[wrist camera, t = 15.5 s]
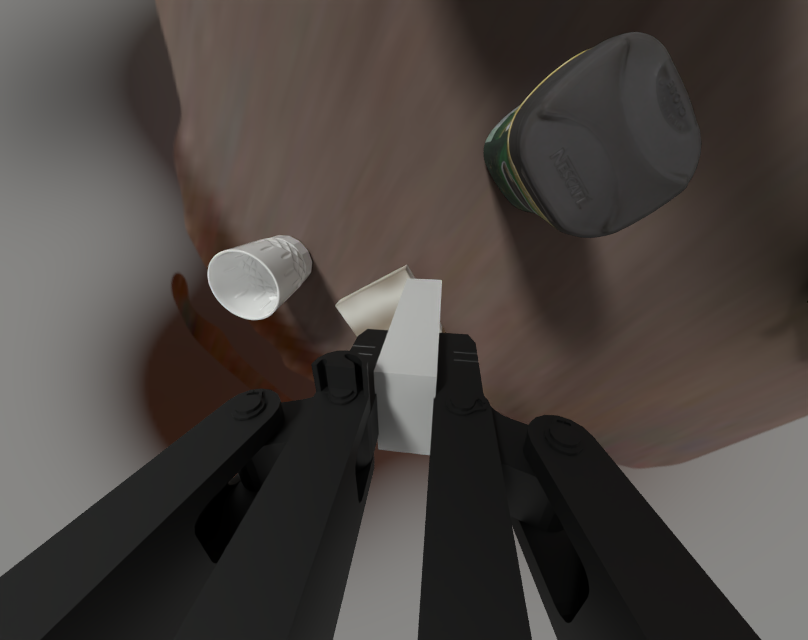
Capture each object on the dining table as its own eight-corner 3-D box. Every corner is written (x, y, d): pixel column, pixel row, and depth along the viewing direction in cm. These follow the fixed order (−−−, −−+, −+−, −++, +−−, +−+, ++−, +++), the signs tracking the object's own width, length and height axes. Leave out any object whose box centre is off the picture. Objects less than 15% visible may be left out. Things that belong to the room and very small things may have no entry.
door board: (339, 299, 41) (325, 317, 36) (407, 264, 38) (401, 279, 33) (409, 399, 48) (404, 425, 43) (471, 377, 44) (474, 403, 40)
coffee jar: (588, 170, 30) (751, 175, 14) (519, 220, 33) (586, 272, 17) (540, 82, 28) (674, -38, 11) (470, 145, 31) (494, 123, 14)
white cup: (260, 222, 38) (203, 240, 29) (319, 239, 38) (280, 262, 29) (260, 278, 41) (210, 309, 33) (314, 293, 41) (278, 328, 33)
